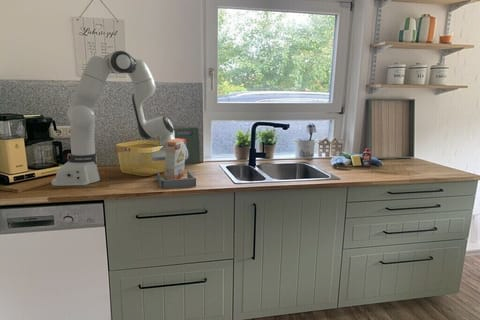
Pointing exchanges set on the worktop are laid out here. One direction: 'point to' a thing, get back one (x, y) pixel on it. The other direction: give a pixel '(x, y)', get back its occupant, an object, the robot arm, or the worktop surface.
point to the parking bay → (177, 181)
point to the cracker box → (174, 159)
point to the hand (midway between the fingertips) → (171, 165)
